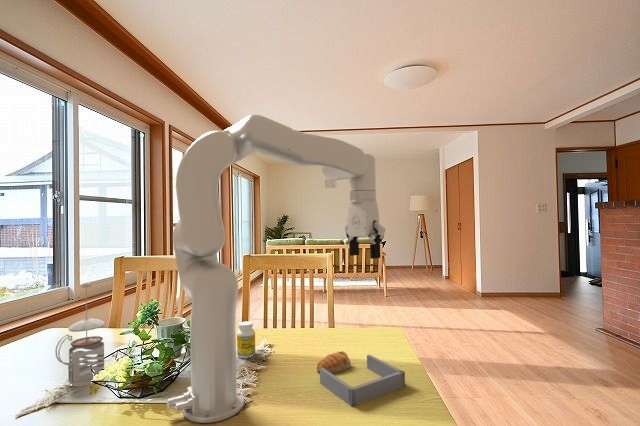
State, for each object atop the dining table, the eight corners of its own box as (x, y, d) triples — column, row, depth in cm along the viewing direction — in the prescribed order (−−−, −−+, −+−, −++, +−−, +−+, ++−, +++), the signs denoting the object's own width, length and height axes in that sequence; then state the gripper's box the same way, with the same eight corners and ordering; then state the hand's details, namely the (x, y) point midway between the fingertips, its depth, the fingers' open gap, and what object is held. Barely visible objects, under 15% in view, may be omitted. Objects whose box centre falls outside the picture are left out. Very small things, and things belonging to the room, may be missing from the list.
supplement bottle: (252, 350, 109) (252, 319, 109) (257, 356, 104) (257, 324, 104) (235, 353, 106) (234, 322, 107) (239, 360, 102) (239, 326, 102)
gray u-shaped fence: (351, 406, 76) (351, 390, 76) (320, 383, 87) (319, 368, 87) (405, 386, 84) (404, 372, 84) (369, 367, 95) (369, 354, 95)
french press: (116, 375, 93) (115, 281, 94) (65, 393, 84) (64, 288, 84) (98, 366, 99) (97, 278, 99) (49, 383, 89) (48, 285, 89)
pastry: (327, 378, 90) (326, 363, 90) (310, 370, 95) (310, 355, 95) (353, 368, 95) (352, 354, 96) (336, 360, 101) (336, 347, 101)
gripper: (335, 199, 107) (336, 255, 107) (372, 195, 92) (373, 260, 92) (355, 199, 111) (356, 253, 110) (393, 195, 96) (395, 258, 96)
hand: (364, 256), depth 101 cm, fingers open, 9 cm apart
